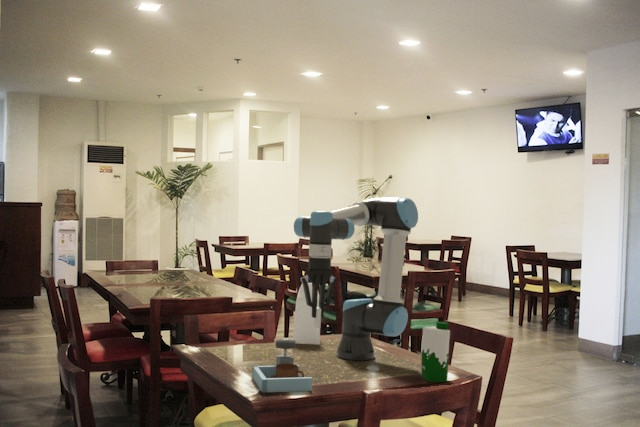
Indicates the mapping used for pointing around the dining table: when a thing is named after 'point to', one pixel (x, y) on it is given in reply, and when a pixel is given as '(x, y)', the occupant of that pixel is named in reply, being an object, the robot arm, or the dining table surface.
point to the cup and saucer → (287, 371)
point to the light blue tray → (279, 384)
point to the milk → (305, 320)
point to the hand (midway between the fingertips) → (317, 327)
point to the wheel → (285, 344)
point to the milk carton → (435, 352)
